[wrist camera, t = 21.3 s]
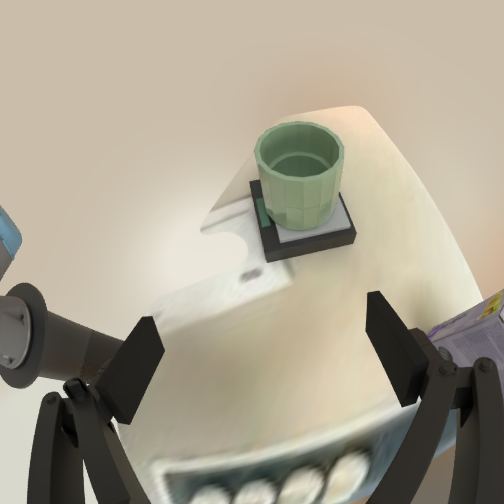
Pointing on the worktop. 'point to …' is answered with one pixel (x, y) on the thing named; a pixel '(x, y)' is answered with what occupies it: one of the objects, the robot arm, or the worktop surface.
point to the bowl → (300, 173)
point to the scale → (301, 242)
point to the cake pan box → (474, 335)
